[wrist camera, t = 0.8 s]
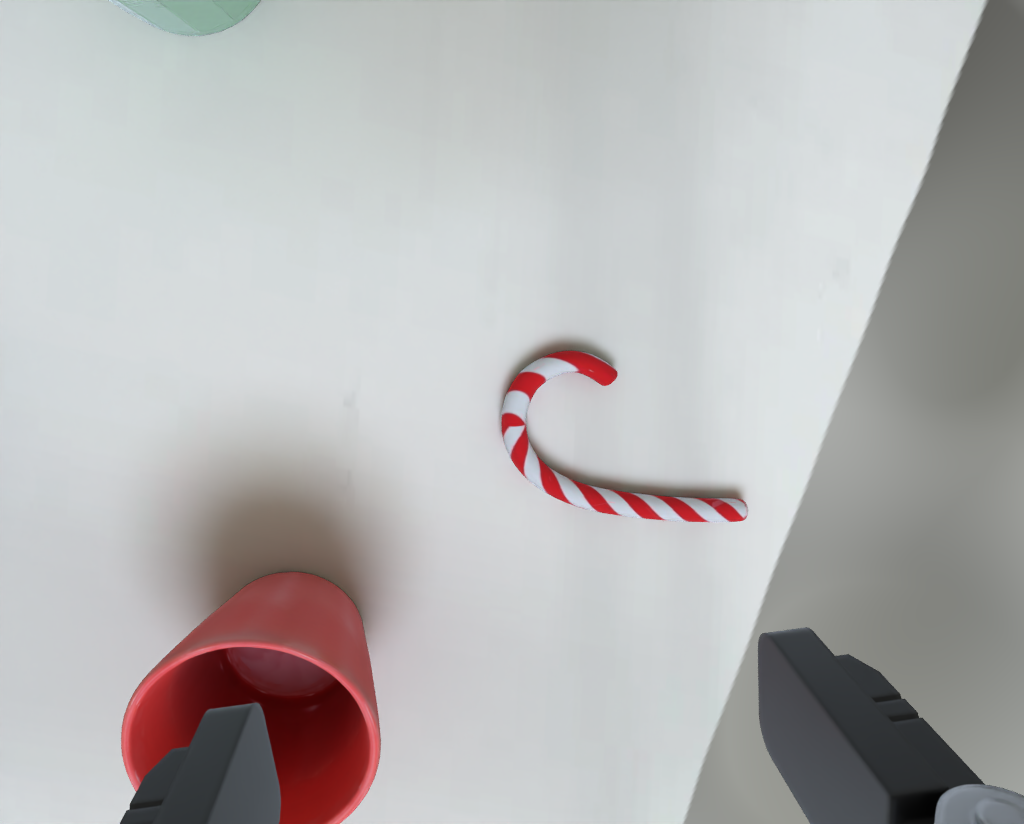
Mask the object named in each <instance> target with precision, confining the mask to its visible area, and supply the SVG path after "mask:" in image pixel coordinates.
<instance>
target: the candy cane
mask: <svg viewBox="0 0 1024 824" xmlns="http://www.w3.org/2000/svg"><path fill="white" fill-rule="evenodd" d="M568 372H577V373H581V374H584V375H586V376H588V377H590V378H592V379H594V380H595V381H596V382H598V383H599V384H601V385H603V386H607V385H609V384H611V383H612V382H613V381H614V380H615V379H616V377H617V371H616V370H615V368H614V367H612V366H611V365H610V364H609V363H607V362H606V361H604V360H602V359H600V358H598V357H596V356H594V355H592V354H589V353H585V352H580V351H562V352H556V353H553V354H549V355H547V356H544V357H542V358H540V359H538V360H536V361H535V362H533V363H531V364H530V365H528V366H527V367H526V368H524V369H523V370H522V371H521V372H520V373H519V374H518V375H517V377H516V378H515V380H514V381H513V382H512V384H511V386H510V388H509V390H508V392H507V395H506V397H505V401H504V405H503V410H502V422H501V424H502V434H503V439H504V443H505V446H506V449H507V451H508V454H509V456H510V458H511V459H512V461H513V463H514V464H515V466H516V467H517V468H518V470H519V471H520V472H521V473H522V474H523V475H524V476H525V477H526V478H527V479H528V480H529V481H530V482H531V483H533V484H534V485H535V486H536V487H538V488H539V489H541V490H542V491H544V492H546V493H547V494H549V495H551V496H553V497H555V498H557V499H559V500H562V501H564V502H566V503H569V504H572V505H574V506H577V507H581V508H584V509H588V510H592V511H596V512H602V513H607V514H614V515H620V516H628V517H637V518H646V519H656V520H669V521H688V522H735V521H743V520H744V519H746V517H747V514H748V507H747V504H746V502H745V501H744V500H741V499H729V498H682V497H667V496H655V495H646V494H637V493H629V492H622V491H615V490H609V489H603V488H598V487H594V486H590V485H586V484H583V483H580V482H577V481H574V480H571V479H569V478H567V477H565V476H563V475H560V474H559V473H557V472H555V471H554V470H552V469H551V468H550V467H548V466H547V465H546V464H545V463H544V462H543V461H542V460H541V459H540V458H539V457H538V456H537V455H536V453H535V452H534V450H533V448H532V446H531V444H530V442H529V439H528V436H527V430H526V415H527V410H528V406H529V403H530V401H531V399H532V397H533V395H534V393H535V392H536V390H537V389H538V388H539V387H540V386H541V385H542V384H544V383H545V382H546V381H548V380H549V379H551V378H553V377H555V376H557V375H560V374H563V373H568Z"/></svg>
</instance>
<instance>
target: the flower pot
mask: <svg viewBox="0 0 1024 824" xmlns="http://www.w3.org/2000/svg"><path fill="white" fill-rule="evenodd" d="M251 703H258V704H259V705H260V706H261V708H262V710H263V713H264V717H265V722H266V726H267V731H268V735H269V740H270V744H271V749H272V753H273V758H274V762H275V767H276V771H277V776H278V780H279V786H280V796H281V810H280V821H279V824H340V823H341V822H342V821H343V820H345V819H346V818H347V817H348V816H349V815H350V814H351V813H352V812H353V811H354V810H355V809H356V808H357V806H358V805H359V804H360V803H361V801H362V800H363V798H364V797H365V796H366V794H367V792H368V791H369V789H370V787H371V784H372V782H373V780H374V778H375V775H376V772H377V768H378V764H379V759H380V748H381V738H380V727H379V717H378V710H377V703H376V696H375V689H374V683H373V676H372V669H371V663H370V658H369V652H368V648H367V643H366V638H365V634H364V628H363V623H362V620H361V617H360V614H359V612H358V610H357V608H356V606H355V605H354V603H353V602H352V600H351V599H350V598H349V597H348V596H347V595H346V594H345V593H344V592H343V591H342V590H341V589H340V588H339V587H338V586H336V585H334V584H333V583H331V582H329V581H327V580H325V579H323V578H321V577H319V576H315V575H312V574H307V573H301V572H286V573H275V574H271V575H267V576H264V577H261V578H259V579H257V580H255V581H253V582H251V583H249V584H248V585H246V586H245V587H244V588H242V589H241V590H240V591H239V592H237V593H236V594H235V595H234V596H233V597H232V598H230V599H229V600H228V601H227V602H226V603H224V604H223V605H222V606H221V607H220V608H218V609H217V610H216V611H215V612H214V613H212V614H211V615H210V616H209V617H208V618H207V619H205V620H204V621H203V622H202V623H201V624H200V625H199V626H198V627H196V628H195V629H194V630H193V631H192V632H191V633H190V634H189V635H188V636H187V637H186V638H185V639H183V640H182V641H181V642H180V643H179V644H178V645H177V646H176V647H175V648H174V649H173V650H172V651H171V652H170V653H169V654H168V655H166V656H165V657H164V658H163V659H162V660H161V661H160V662H159V663H158V664H157V665H156V666H155V667H154V668H153V669H152V670H151V671H150V672H149V673H148V675H147V676H146V677H145V678H144V679H143V680H142V682H141V683H140V684H139V686H138V687H137V689H136V690H135V692H134V693H133V695H132V697H131V699H130V702H129V704H128V706H127V709H126V712H125V715H124V719H123V724H122V734H121V749H122V756H123V761H124V765H125V768H126V772H127V774H128V777H129V779H130V781H131V783H132V785H133V787H134V789H135V791H136V792H137V790H138V788H139V786H140V784H141V782H142V780H143V779H144V777H145V775H146V774H147V773H148V772H149V771H150V770H151V769H152V768H153V767H154V766H155V765H156V764H157V763H158V762H159V761H160V760H161V759H162V758H163V757H164V756H165V755H166V754H167V753H168V752H169V751H170V750H171V749H175V748H182V747H189V745H190V743H191V741H192V739H193V737H194V735H195V732H196V730H197V728H198V726H199V724H200V722H201V720H202V718H203V716H204V714H205V712H206V711H207V710H209V709H215V708H222V707H229V706H236V705H244V704H251Z"/></svg>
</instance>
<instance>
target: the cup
mask: <svg viewBox="0 0 1024 824" xmlns="http://www.w3.org/2000/svg"><path fill="white" fill-rule="evenodd" d="M108 1H110V2H111V3H113V4H115V5H116V6H118V7H119V8H121V9H122V10H124V11H126V12H127V13H129V14H131V15H133V16H135V17H137V18H139V19H141V20H142V21H144V22H146V23H148V24H149V25H151V26H153V27H156V28H158V29H161V30H163V31H166V32H170V33H174V34H179V35H186V36H201V35H208V34H213V33H217V32H220V31H223V30H225V29H227V28H230V27H232V26H234V25H235V24H237V23H238V22H240V21H241V20H243V19H244V18H245V17H246V16H247V15H248V14H249V13H251V12H252V10H253V9H254V8H255V7H256V6H257V4H258V3H259V2H260V0H108Z"/></svg>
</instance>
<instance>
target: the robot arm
mask: <svg viewBox="0 0 1024 824" xmlns="http://www.w3.org/2000/svg"><path fill="white" fill-rule="evenodd" d="M758 677H759V678H758V680H759V719H760V726H761V731H762V735H763V739H764V742H765V745H766V748H767V750H768V752H769V754H770V756H771V758H772V760H773V762H774V763H775V765H776V766H777V768H778V770H779V772H780V773H781V775H782V777H783V778H784V780H785V782H786V783H787V785H788V787H789V788H790V790H791V792H792V793H793V795H794V797H795V799H796V800H797V802H798V804H799V805H800V807H801V808H802V810H803V812H804V814H805V815H806V817H807V819H808V820H809V822H810V824H1024V796H1023V795H1021V794H1018V793H1016V792H1013V791H1010V790H1007V789H1004V788H1000V787H996V786H991V785H985V784H984V783H983V782H982V781H981V780H980V779H979V778H978V777H977V775H976V774H975V773H974V772H973V771H972V770H971V769H970V768H969V767H968V766H967V765H966V764H965V763H964V762H963V761H962V759H961V758H960V757H959V756H958V755H957V754H956V753H955V752H954V751H953V750H952V749H951V748H950V747H949V746H948V745H947V744H946V742H945V741H944V740H943V739H942V738H941V737H940V736H939V735H938V734H937V733H936V732H935V731H934V730H933V729H932V727H931V726H930V725H929V724H928V723H927V722H926V721H925V720H924V719H923V718H919V716H918V713H917V712H916V710H915V709H914V708H913V707H912V706H911V705H910V704H909V703H908V702H907V701H906V700H905V699H901V696H900V693H899V692H898V691H897V690H896V689H895V688H894V687H893V686H892V685H891V684H890V683H889V682H888V681H887V680H886V678H885V677H884V676H883V675H882V674H881V673H880V672H879V671H877V670H875V669H873V668H872V667H870V666H868V665H866V664H865V663H863V662H861V661H859V660H858V659H856V658H854V657H852V656H850V655H849V654H847V655H840V656H834V654H833V653H832V652H831V651H830V650H829V649H828V648H827V647H826V645H825V644H824V643H823V642H822V641H821V640H820V638H819V637H818V636H817V635H816V634H815V633H814V632H813V631H812V630H811V629H810V628H807V627H805V628H798V629H791V630H784V631H777V632H769V633H763V634H761V635H760V637H759V642H758ZM280 810H281V796H280V786H279V780H278V776H277V771H276V767H275V762H274V758H273V753H272V749H271V744H270V740H269V735H268V731H267V726H266V722H265V717H264V713H263V710H262V708H261V706H260V705H259V704H258V703H251V704H244V705H236V706H229V707H222V708H215V709H209V710H207V711H206V712H205V714H204V716H203V718H202V720H201V722H200V724H199V726H198V728H197V730H196V732H195V735H194V737H193V739H192V741H191V743H190V745H189V747H182V748H175V749H171V750H170V751H169V752H168V753H167V754H166V755H165V756H164V757H163V758H162V759H161V760H160V761H159V762H158V763H157V764H156V765H155V766H154V767H153V768H152V769H151V770H150V771H149V772H148V773H147V774H146V775H145V777H144V779H143V780H142V782H141V784H140V786H139V788H138V790H137V792H136V794H135V796H134V798H133V799H132V801H131V803H130V810H127V811H126V813H125V815H124V817H123V818H122V820H121V822H120V824H279V821H280Z"/></svg>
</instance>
